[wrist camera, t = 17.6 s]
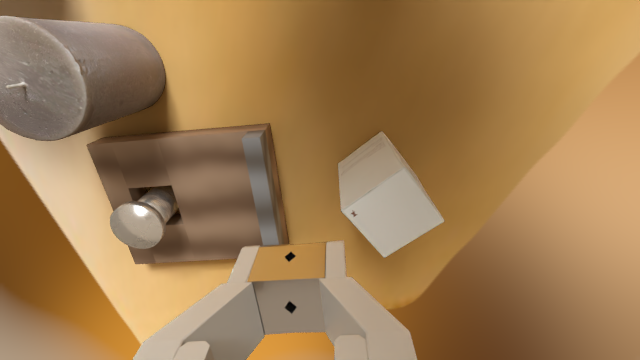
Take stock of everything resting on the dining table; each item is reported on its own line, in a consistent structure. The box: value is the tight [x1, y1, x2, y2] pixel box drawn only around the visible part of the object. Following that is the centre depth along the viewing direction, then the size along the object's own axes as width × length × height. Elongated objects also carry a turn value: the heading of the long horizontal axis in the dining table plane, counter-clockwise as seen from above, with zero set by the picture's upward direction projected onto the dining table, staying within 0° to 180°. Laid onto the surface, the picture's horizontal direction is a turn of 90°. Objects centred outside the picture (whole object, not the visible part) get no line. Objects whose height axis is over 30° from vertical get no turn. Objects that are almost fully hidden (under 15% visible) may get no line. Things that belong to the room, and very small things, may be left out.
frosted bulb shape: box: [110, 185, 179, 249], centre depth 41 cm, size 6×6×8 cm
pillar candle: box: [0, 16, 165, 141], centre depth 31 cm, size 10×10×15 cm
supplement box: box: [338, 131, 444, 258], centre depth 36 cm, size 7×7×13 cm
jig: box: [87, 123, 289, 264], centre depth 41 cm, size 18×22×6 cm
